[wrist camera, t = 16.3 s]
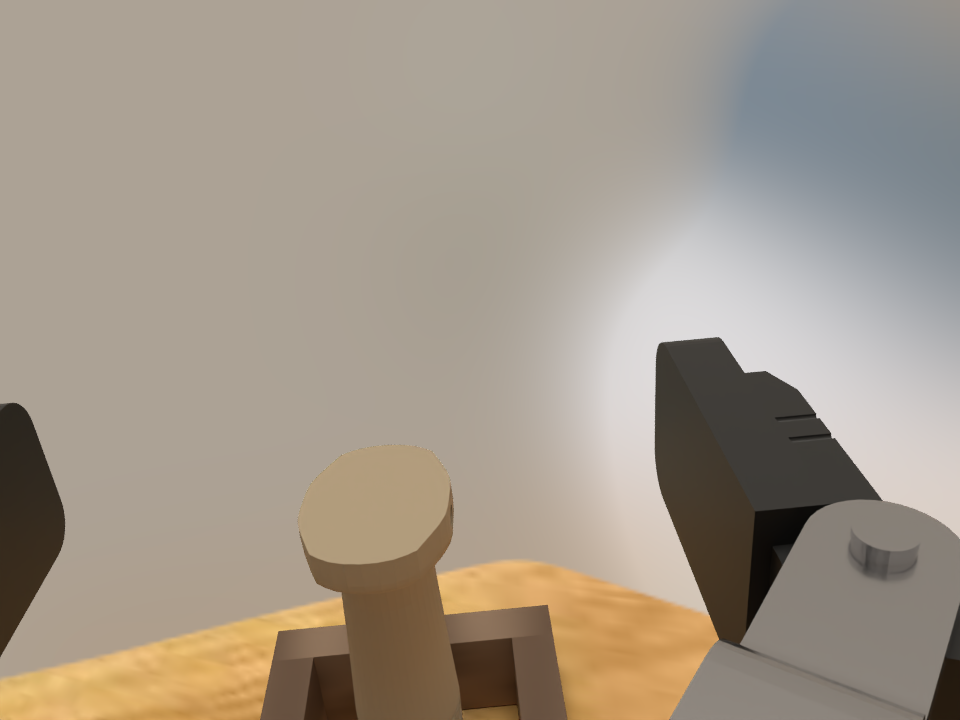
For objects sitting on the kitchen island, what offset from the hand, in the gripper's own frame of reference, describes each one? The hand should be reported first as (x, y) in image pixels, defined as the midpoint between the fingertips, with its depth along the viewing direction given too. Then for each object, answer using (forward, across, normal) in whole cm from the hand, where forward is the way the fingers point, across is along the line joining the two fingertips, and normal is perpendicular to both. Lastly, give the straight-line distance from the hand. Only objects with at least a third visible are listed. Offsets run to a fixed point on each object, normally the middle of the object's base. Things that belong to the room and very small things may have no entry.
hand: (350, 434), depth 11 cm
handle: (+14, +2, +26) cm, 30 cm away
